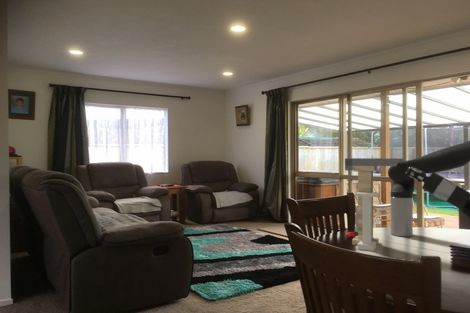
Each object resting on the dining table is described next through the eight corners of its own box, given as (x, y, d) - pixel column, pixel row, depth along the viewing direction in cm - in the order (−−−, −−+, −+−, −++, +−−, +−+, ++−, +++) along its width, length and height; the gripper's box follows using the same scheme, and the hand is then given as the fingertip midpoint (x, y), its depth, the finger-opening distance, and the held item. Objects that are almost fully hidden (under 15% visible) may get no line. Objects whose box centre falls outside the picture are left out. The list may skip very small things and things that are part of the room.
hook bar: (346, 170, 158) (346, 158, 158) (403, 171, 147) (403, 158, 147) (344, 170, 155) (344, 158, 155) (402, 171, 144) (402, 158, 144)
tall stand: (356, 240, 158) (356, 165, 158) (378, 242, 154) (378, 165, 154) (352, 244, 151) (352, 165, 151) (375, 247, 147) (375, 166, 147)
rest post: (358, 245, 149) (358, 192, 149) (379, 248, 145) (379, 193, 145) (354, 248, 144) (354, 193, 144) (376, 251, 140) (376, 194, 140)
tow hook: (344, 234, 173) (347, 237, 164) (344, 206, 174) (347, 208, 165) (363, 234, 172) (367, 238, 163) (362, 206, 172) (366, 208, 163)
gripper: (444, 177, 144) (405, 156, 151) (444, 179, 132) (401, 156, 139) (433, 193, 146) (395, 171, 153) (432, 196, 134) (391, 173, 141)
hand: (398, 164), depth 146 cm, fingers open, 8 cm apart
